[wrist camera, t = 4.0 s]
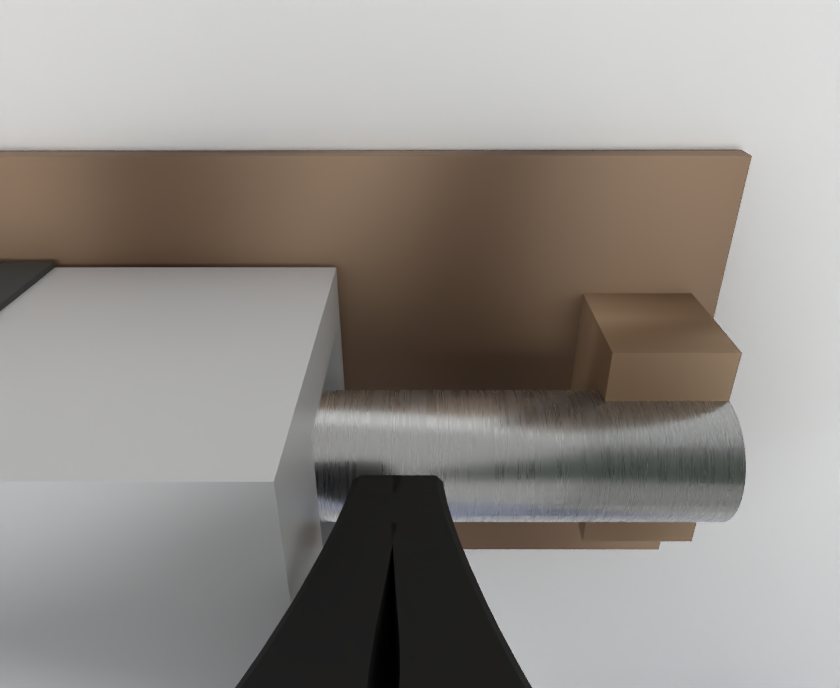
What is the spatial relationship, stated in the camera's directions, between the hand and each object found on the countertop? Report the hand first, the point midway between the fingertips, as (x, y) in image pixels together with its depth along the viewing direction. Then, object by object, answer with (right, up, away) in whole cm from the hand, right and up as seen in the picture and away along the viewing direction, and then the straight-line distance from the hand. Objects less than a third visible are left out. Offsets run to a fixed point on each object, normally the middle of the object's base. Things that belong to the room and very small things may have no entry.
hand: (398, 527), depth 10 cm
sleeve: (-4, +2, +4) cm, 6 cm away
